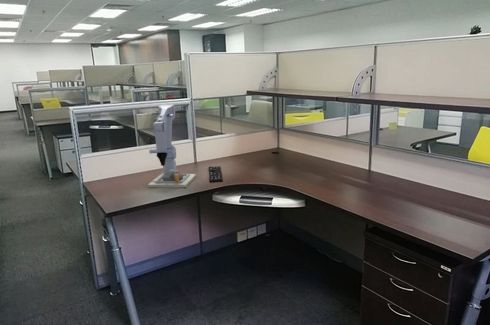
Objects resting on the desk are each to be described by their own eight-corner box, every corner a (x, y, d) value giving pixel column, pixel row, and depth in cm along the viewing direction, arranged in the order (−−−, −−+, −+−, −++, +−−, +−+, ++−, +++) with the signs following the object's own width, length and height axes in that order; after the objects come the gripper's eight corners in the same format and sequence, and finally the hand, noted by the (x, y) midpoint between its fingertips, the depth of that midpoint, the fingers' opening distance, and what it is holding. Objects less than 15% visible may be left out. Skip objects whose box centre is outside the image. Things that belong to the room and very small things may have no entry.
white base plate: (161, 176, 223) (161, 172, 223) (196, 176, 220) (195, 172, 220) (147, 187, 202) (147, 183, 201) (185, 187, 199) (185, 183, 198)
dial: (160, 177, 213) (159, 169, 212) (179, 174, 218) (179, 166, 217) (167, 184, 199) (166, 176, 198) (188, 181, 204) (187, 172, 203)
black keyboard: (220, 168, 239) (220, 165, 238) (222, 182, 208) (222, 179, 207) (208, 169, 238) (208, 166, 237) (209, 183, 207) (209, 179, 206)
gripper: (146, 143, 206) (148, 166, 209) (170, 143, 203) (172, 166, 207) (151, 141, 212) (153, 163, 216) (174, 141, 210) (176, 163, 213)
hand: (163, 165), depth 212 cm, fingers closed
